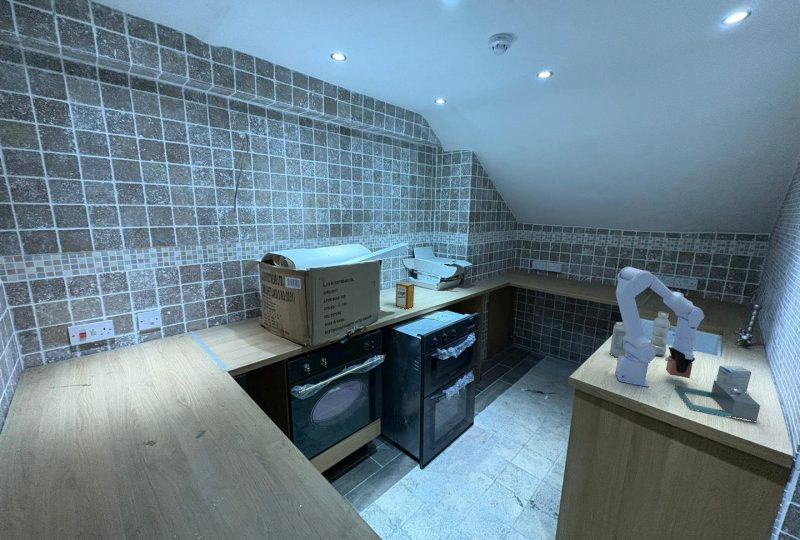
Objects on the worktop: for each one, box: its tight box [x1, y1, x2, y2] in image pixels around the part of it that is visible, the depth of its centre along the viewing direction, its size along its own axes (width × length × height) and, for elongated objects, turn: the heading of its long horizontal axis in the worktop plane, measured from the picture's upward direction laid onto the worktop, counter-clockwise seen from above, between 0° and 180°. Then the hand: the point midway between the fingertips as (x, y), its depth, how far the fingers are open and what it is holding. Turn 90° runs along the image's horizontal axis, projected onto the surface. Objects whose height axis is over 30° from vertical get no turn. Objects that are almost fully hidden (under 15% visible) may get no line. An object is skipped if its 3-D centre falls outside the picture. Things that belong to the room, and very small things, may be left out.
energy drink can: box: [609, 321, 626, 358], centre depth 148 cm, size 6×6×15 cm
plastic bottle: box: [649, 311, 672, 357], centre depth 151 cm, size 6×7×20 cm
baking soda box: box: [395, 281, 415, 310], centre depth 212 cm, size 10×6×16 cm
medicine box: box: [715, 365, 752, 393], centre depth 122 cm, size 8×4×9 cm, turn 92°
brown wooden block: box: [664, 355, 693, 379], centre depth 126 cm, size 7×4×6 cm, turn 67°
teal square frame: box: [674, 380, 761, 422], centre depth 112 cm, size 16×14×7 cm
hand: (678, 369), depth 126 cm, fingers closed on brown wooden block, 4 cm apart
